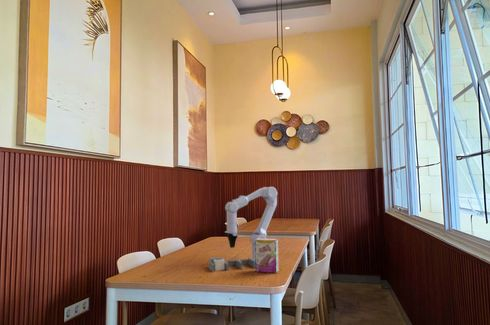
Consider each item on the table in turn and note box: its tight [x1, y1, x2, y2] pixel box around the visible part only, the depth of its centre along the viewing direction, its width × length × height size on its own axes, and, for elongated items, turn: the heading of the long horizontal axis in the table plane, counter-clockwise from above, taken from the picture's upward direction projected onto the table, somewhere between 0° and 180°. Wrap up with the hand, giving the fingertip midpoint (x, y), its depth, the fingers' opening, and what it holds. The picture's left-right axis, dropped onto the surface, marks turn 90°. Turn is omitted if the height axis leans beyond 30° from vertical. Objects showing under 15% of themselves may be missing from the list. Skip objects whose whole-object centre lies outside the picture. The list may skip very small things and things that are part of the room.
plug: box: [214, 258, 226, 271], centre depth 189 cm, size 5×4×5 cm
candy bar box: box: [254, 238, 280, 274], centre depth 181 cm, size 11×5×16 cm, turn 71°
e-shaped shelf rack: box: [207, 256, 256, 273], centre depth 192 cm, size 24×12×5 cm, turn 106°
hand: (232, 247), depth 201 cm, fingers closed
